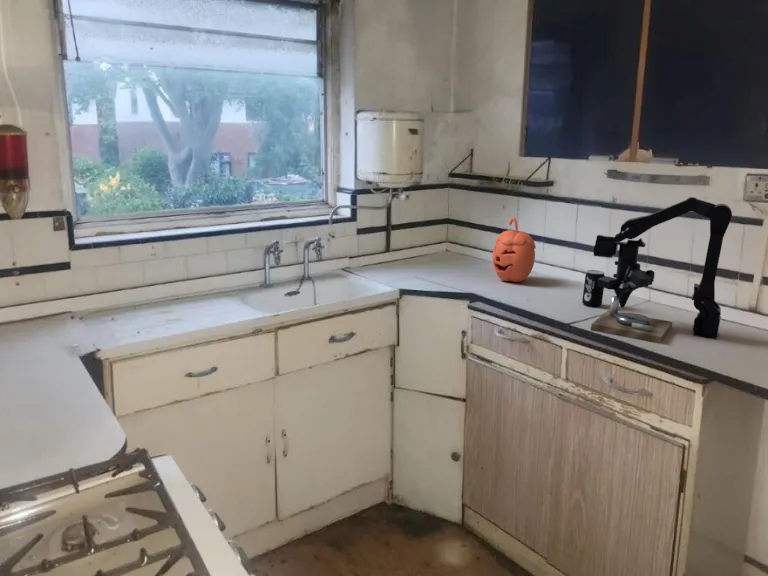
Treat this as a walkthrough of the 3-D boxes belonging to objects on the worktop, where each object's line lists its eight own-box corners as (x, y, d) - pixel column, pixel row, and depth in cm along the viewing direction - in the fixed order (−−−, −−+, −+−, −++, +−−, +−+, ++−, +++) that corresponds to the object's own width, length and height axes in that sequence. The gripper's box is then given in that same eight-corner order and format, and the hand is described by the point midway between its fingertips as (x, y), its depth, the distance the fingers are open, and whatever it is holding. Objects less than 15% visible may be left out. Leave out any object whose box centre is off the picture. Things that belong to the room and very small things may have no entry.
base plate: (671, 327, 213) (673, 316, 213) (659, 343, 197) (661, 331, 196) (607, 316, 223) (608, 305, 222) (590, 330, 207) (592, 318, 206)
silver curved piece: (657, 324, 208) (660, 305, 206) (633, 327, 203) (636, 308, 201) (621, 312, 220) (624, 294, 218) (599, 315, 215) (601, 297, 214)
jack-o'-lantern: (480, 277, 271) (485, 215, 265) (511, 274, 281) (517, 214, 275) (512, 287, 257) (518, 222, 251) (544, 283, 266) (551, 220, 260)
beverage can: (602, 308, 233) (606, 274, 230) (582, 306, 234) (586, 272, 231) (600, 304, 239) (604, 270, 236) (581, 302, 240) (585, 269, 237)
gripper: (625, 266, 202) (620, 317, 206) (669, 262, 211) (663, 310, 214) (598, 259, 212) (593, 307, 215) (641, 255, 220) (635, 302, 224)
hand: (622, 307), depth 217 cm, fingers closed
